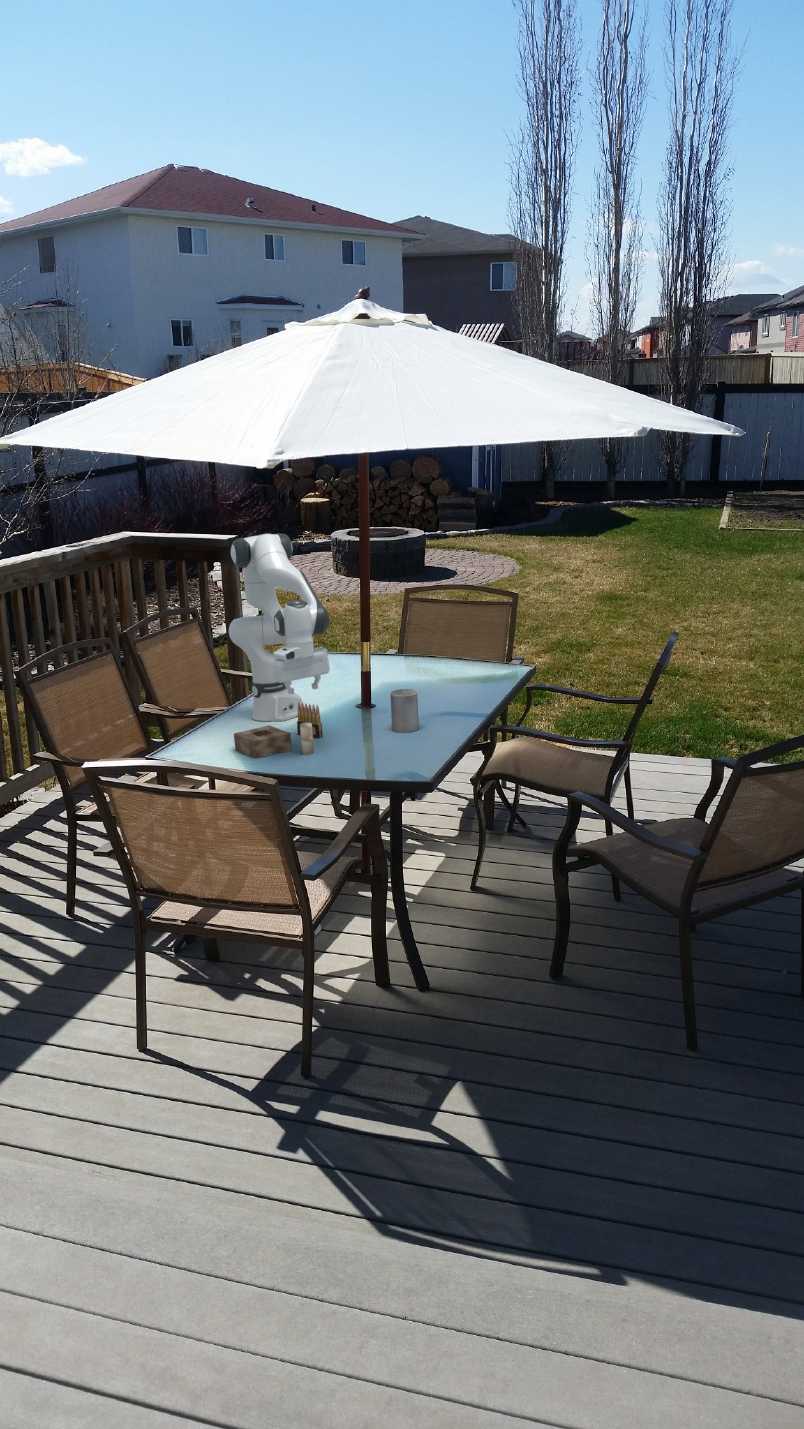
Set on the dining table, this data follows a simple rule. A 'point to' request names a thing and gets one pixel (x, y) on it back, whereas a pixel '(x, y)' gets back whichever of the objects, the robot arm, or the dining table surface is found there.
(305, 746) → the peg
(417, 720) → the pillar candle
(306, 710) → the ammunition clip
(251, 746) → the socket block
